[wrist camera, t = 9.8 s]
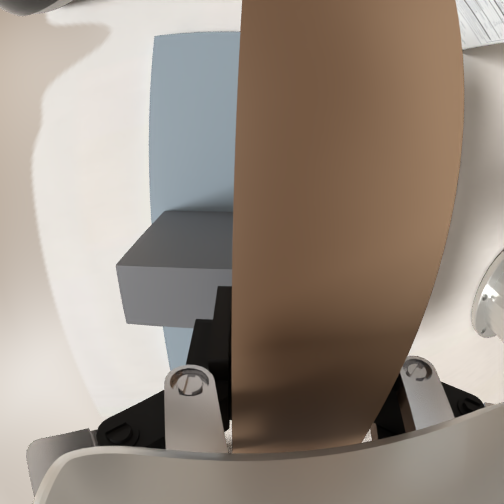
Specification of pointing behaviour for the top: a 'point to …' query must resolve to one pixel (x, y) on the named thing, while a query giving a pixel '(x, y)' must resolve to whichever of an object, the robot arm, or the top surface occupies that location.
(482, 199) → the top surface
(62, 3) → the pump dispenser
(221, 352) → the robot arm
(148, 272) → the balance stand
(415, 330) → the walnut bar
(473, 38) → the syrup box
